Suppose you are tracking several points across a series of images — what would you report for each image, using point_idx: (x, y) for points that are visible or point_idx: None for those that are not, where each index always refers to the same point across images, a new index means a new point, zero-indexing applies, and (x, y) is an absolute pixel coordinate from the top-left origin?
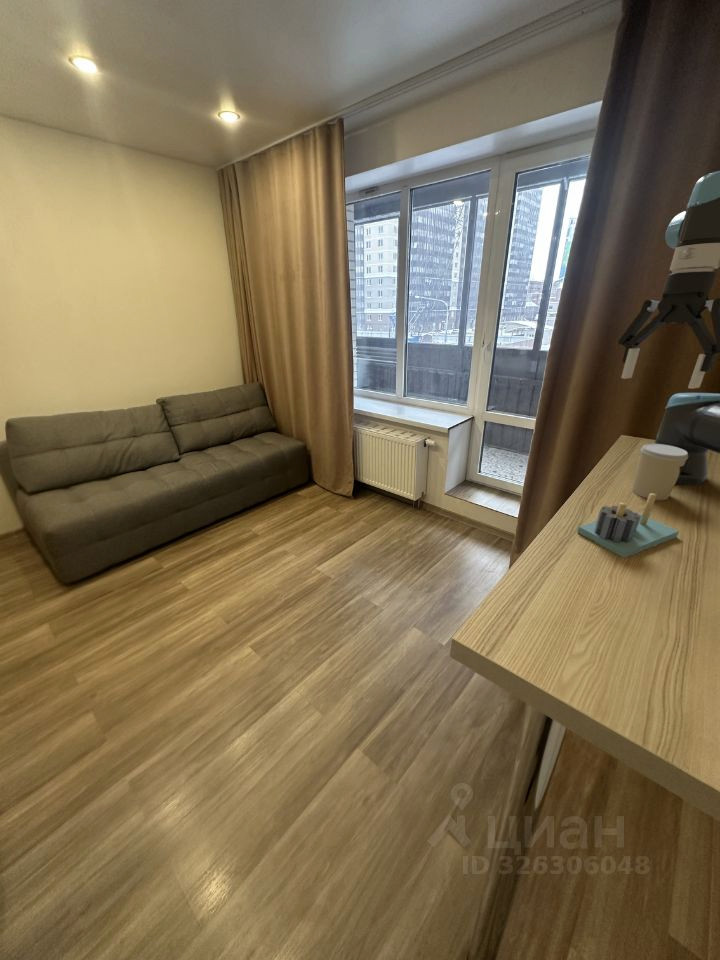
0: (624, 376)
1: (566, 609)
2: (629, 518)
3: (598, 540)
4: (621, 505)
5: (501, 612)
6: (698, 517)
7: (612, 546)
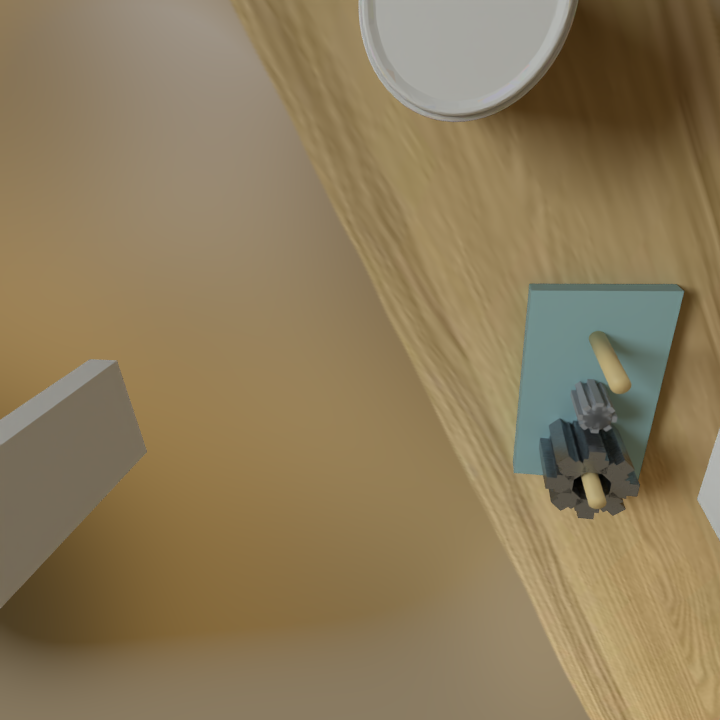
0: (132, 461)
1: (644, 635)
2: (622, 491)
3: None
4: (597, 507)
5: (591, 684)
6: (676, 68)
7: None
